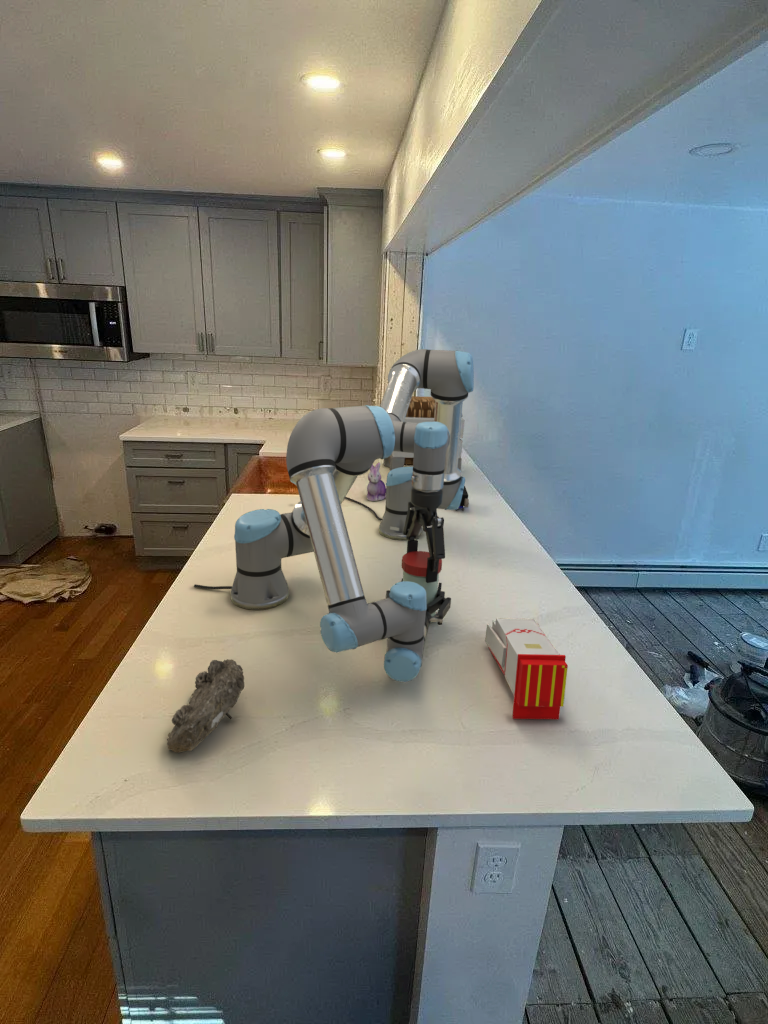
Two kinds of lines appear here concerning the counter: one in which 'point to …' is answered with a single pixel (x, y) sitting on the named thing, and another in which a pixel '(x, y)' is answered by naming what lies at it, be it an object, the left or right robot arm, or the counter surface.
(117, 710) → the counter surface
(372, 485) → the figurine
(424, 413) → the grey slatted crate
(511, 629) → the toy
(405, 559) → the lid
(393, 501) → the right robot arm
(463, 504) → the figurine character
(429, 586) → the jar
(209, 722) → the fossil
